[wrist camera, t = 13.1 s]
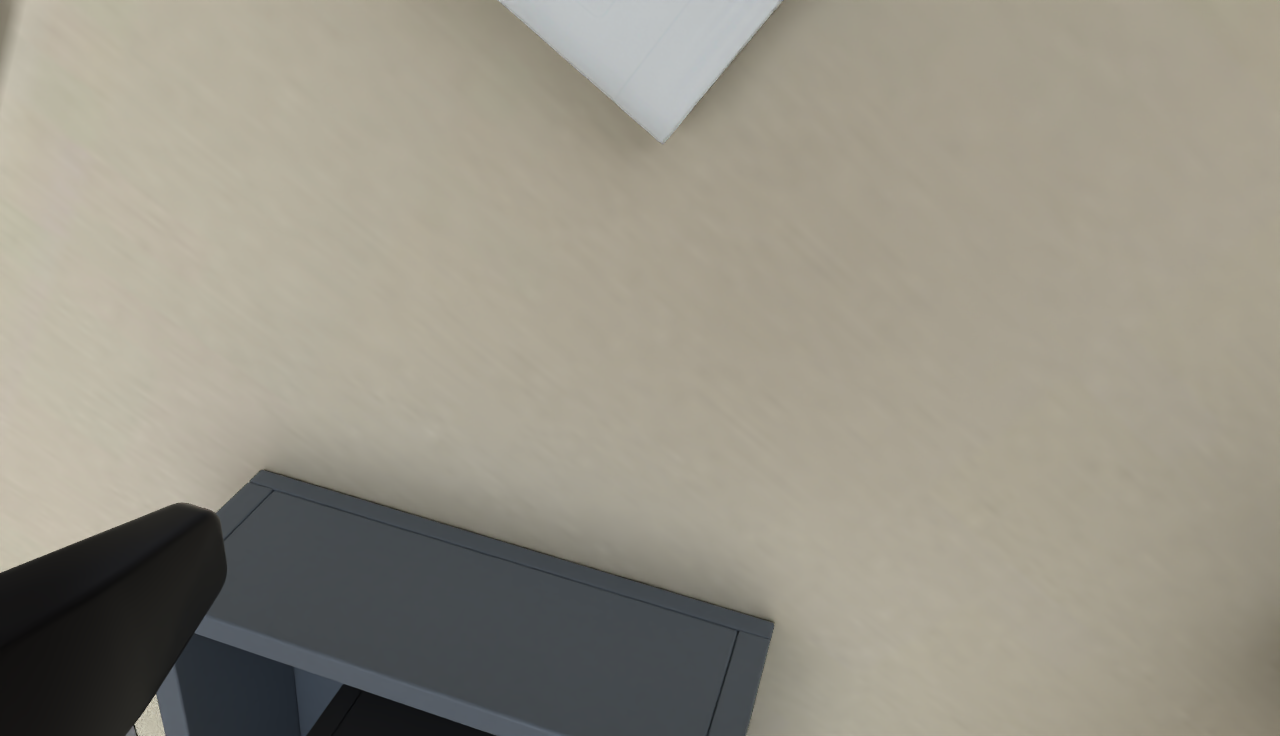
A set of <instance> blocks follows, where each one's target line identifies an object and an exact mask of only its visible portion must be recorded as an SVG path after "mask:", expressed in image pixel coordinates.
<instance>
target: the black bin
mask: <svg viewBox="0 0 1280 736" xmlns="http://www.w3.org/2000/svg"><path fill="white" fill-rule="evenodd" d="M306 736H496V735H493V734H490V733H487V732H484V731H481V730H478V729H475V728H472V727H470V726H467V725H464V724H461V723H458V722H455V721H452V720H449V719H446V718H443V717H440V716H437V715H434V714H431V713H428V712H425V711H422V710H419V709H417V708H414V707H411V706H408V705H405V704H402V703H399V702H396V701H393V700H390V699H387V698H384V697H381V696H378V695H375V694H372V693H369V692H366V691H363V690H361V689H358V688H355V687H352V686H349V685H346V684H343V685H342V686H341V687H340V689H339V690H338V692H337V693H336V694H335V696H334V697H333V699H332V700H331V701H330V703H329V704H328V706H327V707H326V708H325V710H324V711H323V713H322V714H321V716H320V717H319V718H318V720H317V721H316V723H315V724H314V725H313V727H312V728H311V730H310V731H309V732H308V734H307V735H306Z"/></svg>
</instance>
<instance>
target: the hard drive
mask: <svg viewBox="0 0 1280 736" xmlns="http://www.w3.org/2000/svg"><path fill="white" fill-rule="evenodd" d="M498 1H499V2H500V3H501V4H502V5H504V6H505V7H506V8H507V9H508V10H509V11H511V12H512V13H513V14H514V15H515V16H516V17H518V18H519V19H520V20H521V21H522V22H523V23H525V24H526V25H527V26H528V27H529V28H530V29H531V30H533V31H534V32H535V33H536V34H537V35H538V36H539V37H540V38H541V39H543V40H544V41H545V42H546V43H547V44H548V45H549V46H550V47H551V48H553V49H554V50H555V51H556V52H557V53H558V54H559V55H561V56H562V57H563V58H564V59H565V60H566V61H568V62H569V63H570V64H571V65H572V66H573V67H574V68H575V69H576V70H578V71H579V72H580V73H581V74H582V75H583V76H585V77H586V78H587V79H588V80H589V81H591V82H592V83H593V84H594V85H595V86H596V87H597V88H598V89H600V90H601V91H602V92H603V93H604V94H605V95H606V96H608V97H609V98H610V99H611V100H612V101H613V102H614V103H616V104H617V105H618V106H619V107H620V108H621V109H622V110H623V111H624V112H625V113H627V114H628V115H629V116H630V117H631V118H632V119H633V120H634V121H635V122H637V123H638V124H639V125H640V126H641V127H643V128H644V129H645V130H646V131H647V132H648V133H650V134H651V135H652V136H653V137H654V138H655V139H656V140H657V141H658V142H660V143H662V144H664V143H665V142H666V141H667V139H668V138H669V137H670V136H671V135H672V133H673V132H674V131H675V130H676V128H677V127H678V126H679V125H680V124H681V122H682V121H683V120H684V119H685V118H686V116H687V115H688V114H689V113H690V112H691V110H692V109H693V108H694V107H695V106H696V104H697V103H698V102H699V101H700V100H701V98H702V97H703V96H704V95H705V94H706V92H707V91H708V90H709V89H710V88H711V86H712V85H713V84H714V83H715V82H716V80H717V79H718V78H719V77H720V76H721V74H722V73H723V72H724V71H725V70H726V68H727V67H728V66H729V65H730V64H731V63H732V61H733V60H734V59H735V58H736V57H737V55H738V54H739V53H740V52H741V51H742V49H743V48H744V47H745V46H746V45H747V44H748V42H749V41H750V40H751V39H752V37H753V36H754V35H755V34H756V32H757V31H758V30H759V29H760V28H761V26H762V25H763V24H764V23H765V22H766V21H767V19H768V18H769V17H770V16H771V15H772V13H773V12H774V11H775V10H776V9H777V8H778V6H779V5H780V4H781V3H782V2H783V0H498Z"/></svg>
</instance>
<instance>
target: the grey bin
mask: <svg viewBox="0 0 1280 736" xmlns="http://www.w3.org/2000/svg"><path fill="white" fill-rule="evenodd" d="M216 514H217V516H218V517H219V519H220V522H221V527H222V534H223V540H224V547H225V554H226V560H227V576H226V580H225V583H224V585H223V587H222V589H221V591H220V593H219V595H218V596H217V598H216V599H215V601H214V603H213V604H212V606H211V607H210V609H209V610H208V612H207V614H206V615H205V617H204V618H203V620H202V622H201V623H200V625H199V626H198V628H197V629H196V631H195V633H194V634H193V636H192V637H191V639H190V640H189V642H188V644H187V645H186V647H185V648H184V650H183V652H182V653H181V655H180V656H179V658H178V659H177V661H176V663H175V664H174V666H173V667H172V669H171V671H170V672H169V674H168V675H167V677H166V678H165V680H164V682H163V683H162V685H161V686H160V688H159V689H158V691H157V693H156V695H157V700H158V704H159V709H160V713H161V717H162V722H163V726H164V731H165V735H166V736H306V735H307V734H308V732H309V731H310V730H311V728H312V727H313V725H314V724H315V723H316V721H317V720H318V718H319V717H320V716H321V714H322V713H323V711H324V710H325V708H326V707H327V706H328V704H329V703H330V701H331V700H332V699H333V697H334V696H335V694H336V693H337V692H338V690H339V689H340V687H341V686H342V685H343V684H346V685H349V686H352V687H355V688H358V689H361V690H363V691H366V692H369V693H372V694H375V695H378V696H381V697H384V698H387V699H390V700H393V701H396V702H399V703H402V704H405V705H408V706H411V707H414V708H417V709H419V710H422V711H425V712H428V713H431V714H434V715H437V716H440V717H443V718H446V719H449V720H452V721H455V722H458V723H461V724H464V725H467V726H470V727H472V728H475V729H478V730H481V731H484V732H487V733H490V734H493V735H496V736H746V735H747V731H748V727H749V723H750V719H751V715H752V711H753V707H754V703H755V700H756V696H757V692H758V688H759V684H760V680H761V676H762V672H763V668H764V664H765V660H766V656H767V652H768V648H769V645H770V641H771V637H772V633H773V629H774V623H772V622H769V621H766V620H763V619H759V618H756V617H753V616H749V615H746V614H743V613H739V612H736V611H733V610H729V609H726V608H723V607H719V606H716V605H713V604H709V603H706V602H703V601H699V600H696V599H693V598H689V597H686V596H683V595H679V594H676V593H673V592H669V591H666V590H663V589H659V588H656V587H652V586H649V585H646V584H642V583H639V582H636V581H632V580H629V579H626V578H622V577H619V576H616V575H612V574H609V573H606V572H602V571H599V570H596V569H592V568H589V567H586V566H582V565H579V564H576V563H572V562H569V561H566V560H562V559H559V558H556V557H552V556H549V555H546V554H542V553H539V552H536V551H532V550H529V549H526V548H522V547H519V546H516V545H512V544H509V543H506V542H502V541H499V540H496V539H492V538H489V537H485V536H482V535H479V534H475V533H472V532H469V531H465V530H462V529H459V528H455V527H452V526H449V525H445V524H442V523H439V522H435V521H432V520H429V519H425V518H422V517H419V516H415V515H412V514H409V513H405V512H402V511H399V510H395V509H392V508H389V507H385V506H382V505H379V504H375V503H372V502H369V501H365V500H362V499H359V498H355V497H352V496H349V495H345V494H342V493H339V492H335V491H332V490H328V489H325V488H322V487H318V486H315V485H312V484H308V483H305V482H302V481H298V480H295V479H292V478H288V477H285V476H282V475H278V474H275V473H272V472H268V471H265V470H260V471H259V472H258V473H257V474H256V475H255V476H254V477H253V478H252V479H251V480H250V482H249V483H247V484H246V485H245V486H244V487H243V488H242V489H241V490H240V491H238V492H237V493H236V494H235V495H234V496H233V497H232V498H231V499H230V500H229V501H228V502H227V503H226V504H225V505H224V506H223V507H222V508H221V509H220V510H219V511H218V512H217V513H216Z"/></svg>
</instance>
